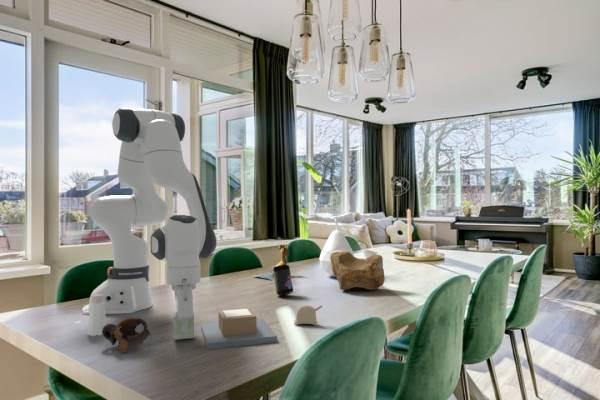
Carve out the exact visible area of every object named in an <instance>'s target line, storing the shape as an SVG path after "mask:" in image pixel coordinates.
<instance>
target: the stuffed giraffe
mask: <svg viewBox="0 0 600 400" xmlns="http://www.w3.org/2000/svg"><path fill="white" fill-rule="evenodd" d="M278 250H280V258H281V261H280V262H279V263H277V264H276V265H275V266H274V267H276V266H281V265H288V261H287V257H289V256H290V251H289V249H288V247H287V246H286V245H284V244H283V245H282V244H279V246H278ZM252 277H253V278H257V277H258V278H262V279H266V280H270V281H275V280H274V273H273V268H272V269H271V271H270V272H269V273H263V274H262V273H261V274H258V275H253V276H252ZM291 278H295V276H294V275H293V274H291Z"/></svg>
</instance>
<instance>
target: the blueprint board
mask: <svg viewBox="0 0 600 400" xmlns="http://www.w3.org/2000/svg"><path fill="white" fill-rule="evenodd" d="M200 330H201V333H202V337H203V341H204V343H205V347H206V350H214V349H215V350H216V349H225V348H233V347H242V346H250V345H252V346H253V345H261V344H270V343H277V342H278V335H277V334H276V333H275V332H274V331H273V330H272V328H271V327H270V326H269V325H268V324H267V322H266V321H265V320H264V318H262V317H261V318H257V315H256V313H255V312H254V311H253V310H252V308H250V307H248V308H247V307H246V308H239V309H238V308H236V309H226V310H223V309H222V310H218V321H217V322H210V323H208V322H207V323H201V324H200Z"/></svg>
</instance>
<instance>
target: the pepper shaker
mask: <svg viewBox="0 0 600 400" xmlns="http://www.w3.org/2000/svg"><path fill="white" fill-rule="evenodd" d="M90 296H91V295H90ZM102 296H103V295H102V294H94V295H92V296H91V297H92V304H90V311H89V315H88V323H87V332H86V333H87V334H86V335H87V336H89V335H90V337H95V336H96V335H98V336H103V335H102V334H103V333H102V330H103V328H104V326H105V325H107V318H106V314H105V307H104V303H102Z"/></svg>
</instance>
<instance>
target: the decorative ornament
mask: <svg viewBox="0 0 600 400" xmlns="http://www.w3.org/2000/svg"><path fill="white" fill-rule="evenodd" d="M322 308H323V305H319V306H317V307H315V308H314V307H313V306H311V305H308V304H304V305H301V306H300V307H298V309H297V311H296V315H295V320H294V321H293V322H294V323H293V325H294V326H296V325H301V324H303V325H314V326H318V321H317V313H316V312H317V311H318V310H321V309H322Z"/></svg>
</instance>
